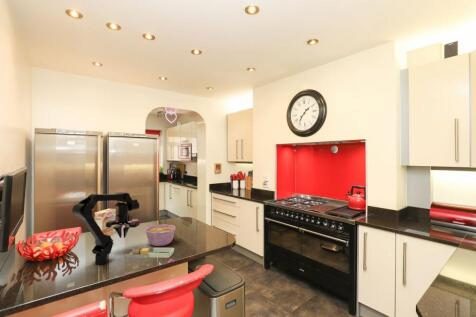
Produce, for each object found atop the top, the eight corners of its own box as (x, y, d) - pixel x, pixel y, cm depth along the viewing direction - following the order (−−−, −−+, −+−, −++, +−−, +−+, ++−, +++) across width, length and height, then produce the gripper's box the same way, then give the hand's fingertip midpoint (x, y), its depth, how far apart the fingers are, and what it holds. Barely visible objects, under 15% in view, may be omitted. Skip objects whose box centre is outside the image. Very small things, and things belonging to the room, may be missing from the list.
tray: (169, 259, 138) (169, 253, 138) (148, 258, 138) (148, 253, 138) (174, 253, 147) (174, 247, 147) (153, 252, 147) (153, 247, 147)
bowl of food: (180, 241, 168) (180, 225, 168) (165, 252, 149) (165, 234, 149) (157, 238, 173) (157, 223, 173) (138, 248, 154) (139, 231, 154)
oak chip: (138, 255, 140) (138, 250, 140) (132, 255, 140) (132, 250, 140) (141, 252, 144) (141, 248, 144) (135, 252, 144) (135, 247, 144)
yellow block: (146, 255, 140) (146, 250, 140) (140, 255, 140) (140, 250, 140) (149, 252, 144) (149, 248, 144) (143, 252, 144) (143, 248, 144)
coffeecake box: (102, 239, 171) (102, 212, 172) (93, 238, 173) (94, 212, 173) (115, 232, 186) (116, 208, 186) (107, 232, 187) (108, 208, 187)
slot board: (147, 259, 137) (147, 255, 137) (124, 259, 137) (124, 255, 137) (154, 252, 148) (154, 248, 148) (132, 251, 148) (133, 248, 148)
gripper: (143, 209, 151) (143, 233, 151) (115, 209, 151) (114, 233, 151) (135, 213, 140) (135, 239, 139) (105, 213, 140) (104, 239, 140)
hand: (122, 237), depth 143 cm, fingers closed
